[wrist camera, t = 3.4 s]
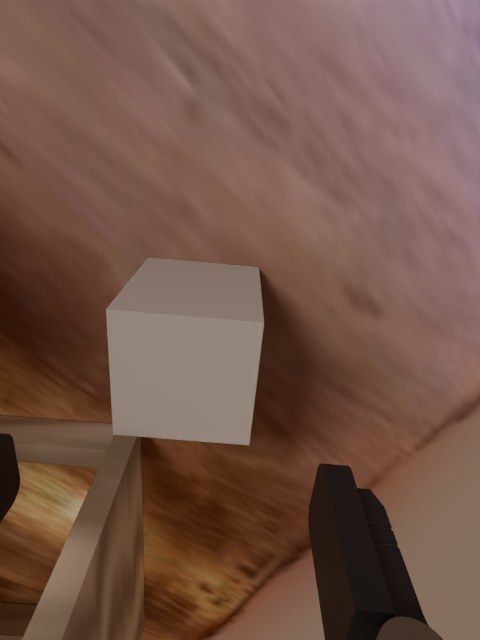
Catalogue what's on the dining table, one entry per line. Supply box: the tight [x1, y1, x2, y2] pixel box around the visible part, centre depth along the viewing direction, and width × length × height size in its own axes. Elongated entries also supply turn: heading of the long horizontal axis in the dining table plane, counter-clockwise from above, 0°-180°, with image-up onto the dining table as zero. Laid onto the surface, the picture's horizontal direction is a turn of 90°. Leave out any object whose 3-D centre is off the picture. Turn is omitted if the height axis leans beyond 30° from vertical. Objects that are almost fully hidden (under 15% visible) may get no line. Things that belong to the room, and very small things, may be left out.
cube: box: [106, 258, 264, 445], centre depth 16 cm, size 5×5×6 cm
